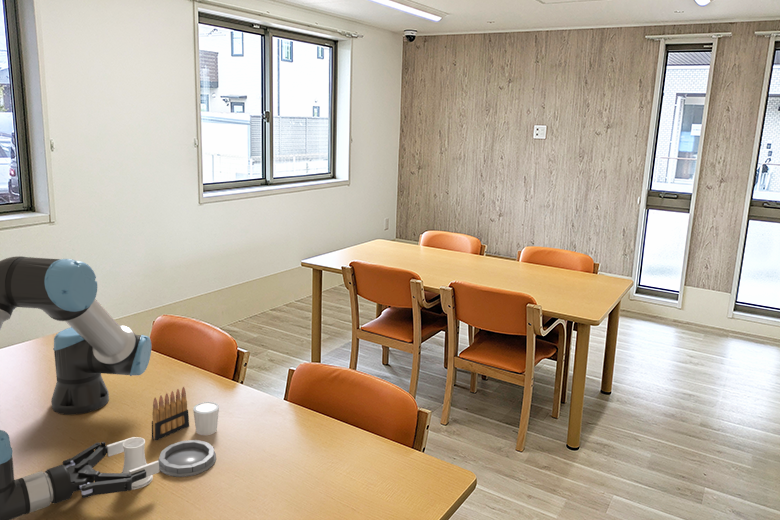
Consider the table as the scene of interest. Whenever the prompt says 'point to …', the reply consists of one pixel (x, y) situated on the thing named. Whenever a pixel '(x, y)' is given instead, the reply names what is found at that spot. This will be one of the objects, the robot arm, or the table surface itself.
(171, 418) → the ammunition clip
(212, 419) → the shot glass
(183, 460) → the socket ring
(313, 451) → the table surface
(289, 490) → the table surface
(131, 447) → the vase
